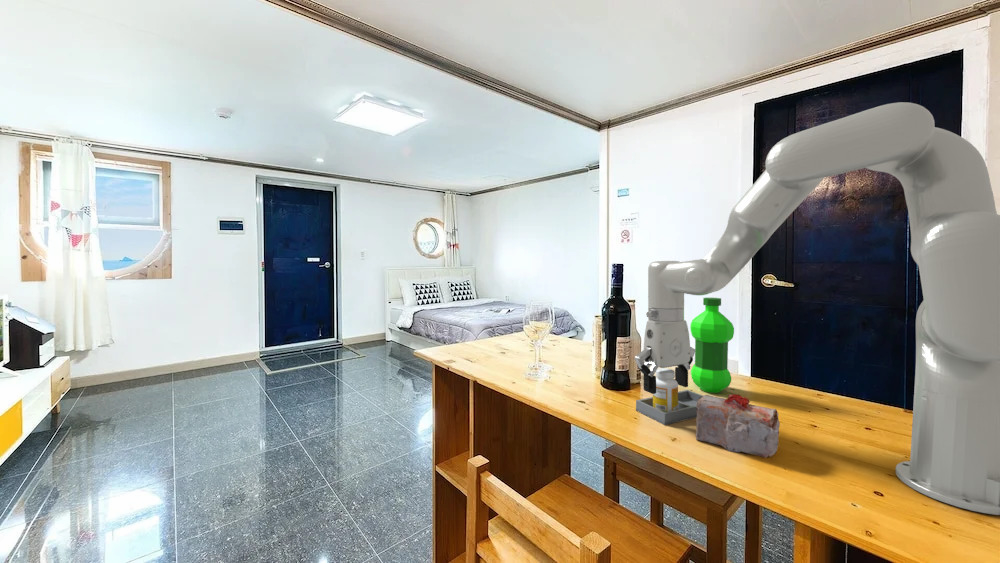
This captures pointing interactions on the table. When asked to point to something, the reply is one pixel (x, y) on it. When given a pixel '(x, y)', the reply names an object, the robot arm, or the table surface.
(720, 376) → the plastic bottle
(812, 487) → the table surface
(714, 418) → the food item
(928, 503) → the table surface
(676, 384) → the supplement bottle
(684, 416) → the divided tray
